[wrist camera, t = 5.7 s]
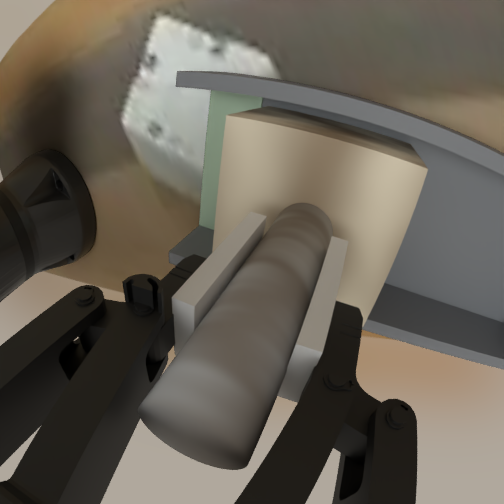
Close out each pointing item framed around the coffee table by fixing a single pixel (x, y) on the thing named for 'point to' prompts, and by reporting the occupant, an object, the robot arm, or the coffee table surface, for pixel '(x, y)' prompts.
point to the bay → (421, 224)
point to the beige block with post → (281, 268)
